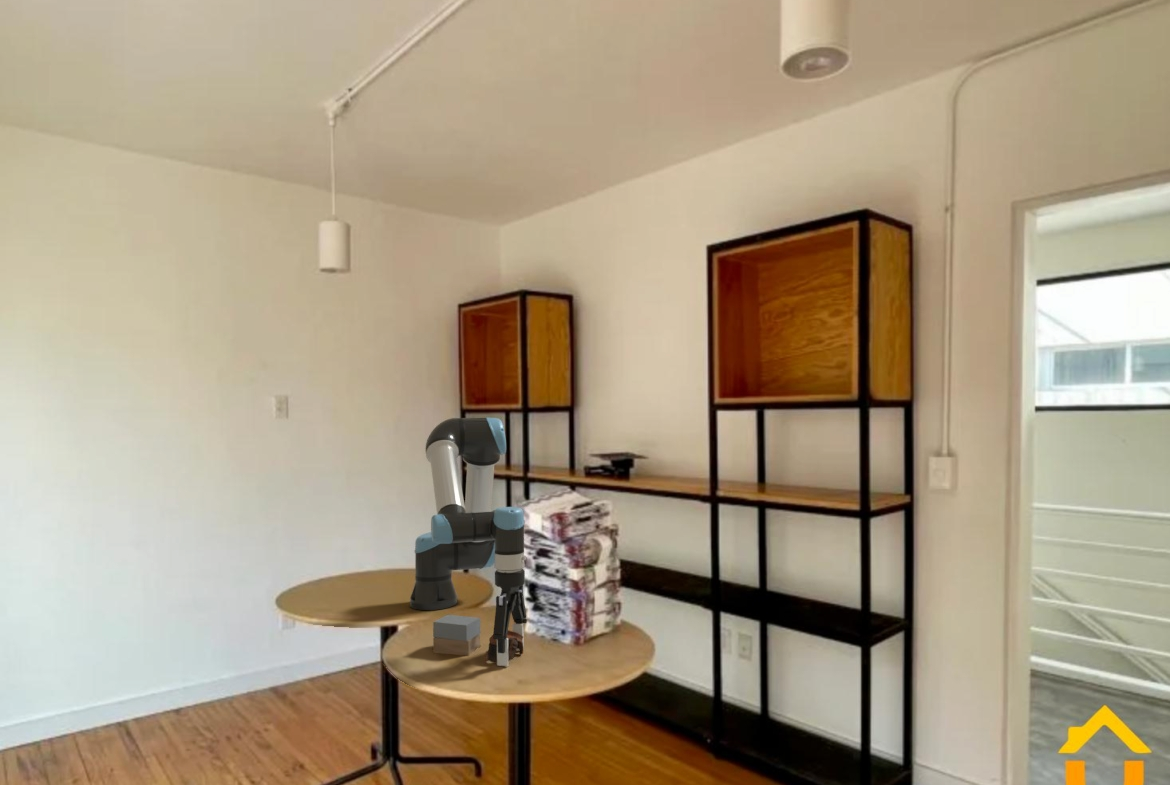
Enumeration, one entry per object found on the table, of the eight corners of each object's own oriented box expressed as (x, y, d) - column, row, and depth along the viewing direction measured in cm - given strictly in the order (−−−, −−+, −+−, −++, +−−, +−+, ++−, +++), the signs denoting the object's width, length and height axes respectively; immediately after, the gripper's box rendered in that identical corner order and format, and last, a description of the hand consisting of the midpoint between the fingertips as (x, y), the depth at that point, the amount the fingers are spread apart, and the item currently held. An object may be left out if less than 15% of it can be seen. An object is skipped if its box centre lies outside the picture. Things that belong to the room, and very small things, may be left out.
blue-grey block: (448, 629, 186) (448, 614, 187) (480, 633, 183) (480, 617, 183) (433, 637, 180) (433, 621, 180) (466, 641, 176) (466, 625, 176)
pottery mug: (476, 659, 174) (486, 626, 178) (508, 670, 178) (518, 638, 182) (496, 660, 165) (506, 625, 169) (529, 672, 168) (539, 637, 172)
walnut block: (446, 645, 186) (445, 630, 186) (480, 647, 183) (480, 632, 183) (433, 653, 179) (433, 638, 179) (468, 656, 176) (468, 640, 176)
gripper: (508, 580, 162) (509, 675, 161) (537, 560, 185) (538, 643, 184) (478, 579, 164) (479, 673, 163) (510, 559, 187) (512, 641, 186)
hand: (510, 657), depth 174 cm, fingers closed on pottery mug, 11 cm apart
